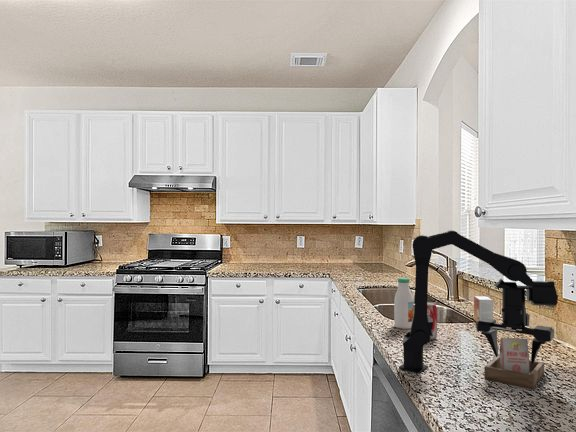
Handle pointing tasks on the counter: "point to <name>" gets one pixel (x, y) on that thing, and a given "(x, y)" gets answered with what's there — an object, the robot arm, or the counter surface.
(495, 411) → the counter surface
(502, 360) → the tea bag
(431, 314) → the soda can
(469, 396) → the counter surface
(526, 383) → the walnut tray
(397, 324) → the milk bottle
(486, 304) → the small box
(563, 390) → the counter surface
